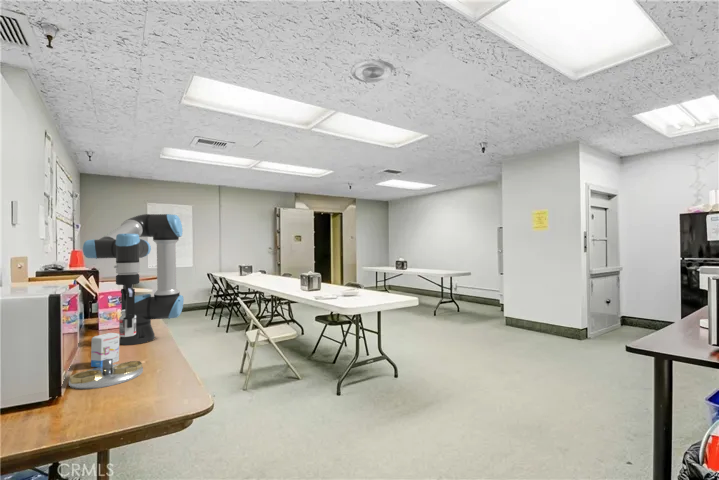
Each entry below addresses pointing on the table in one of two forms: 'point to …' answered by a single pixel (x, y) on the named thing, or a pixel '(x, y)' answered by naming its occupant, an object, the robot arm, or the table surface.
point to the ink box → (104, 349)
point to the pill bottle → (122, 324)
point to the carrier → (106, 375)
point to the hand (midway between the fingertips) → (127, 334)
